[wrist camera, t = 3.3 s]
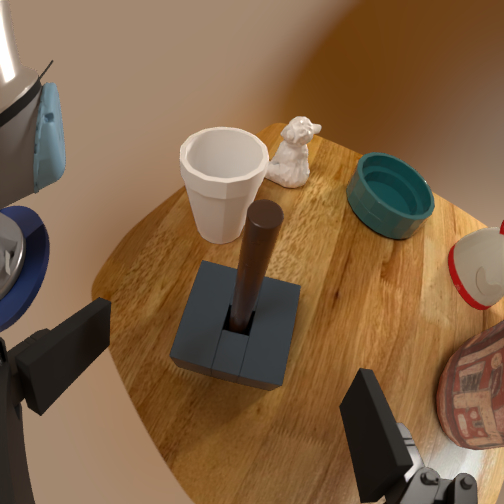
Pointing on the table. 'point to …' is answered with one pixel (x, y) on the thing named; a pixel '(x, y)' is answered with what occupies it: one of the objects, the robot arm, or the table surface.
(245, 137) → the foam cup
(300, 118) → the white creature statuette
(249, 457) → the table surface
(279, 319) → the holder
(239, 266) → the brown rod
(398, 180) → the bowl
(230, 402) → the table surface
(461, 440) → the pottery
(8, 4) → the robot arm
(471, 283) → the kitchen timer
